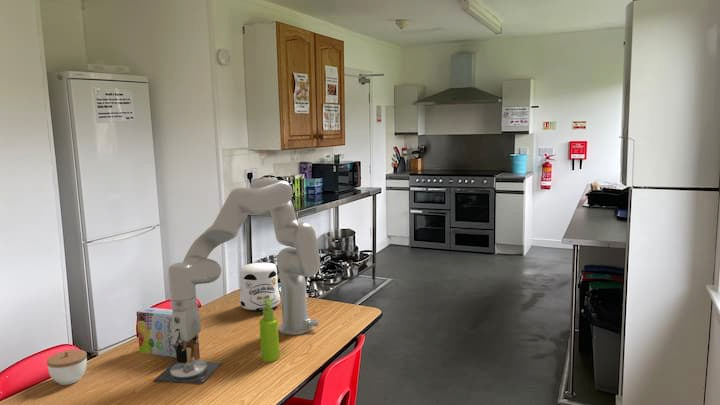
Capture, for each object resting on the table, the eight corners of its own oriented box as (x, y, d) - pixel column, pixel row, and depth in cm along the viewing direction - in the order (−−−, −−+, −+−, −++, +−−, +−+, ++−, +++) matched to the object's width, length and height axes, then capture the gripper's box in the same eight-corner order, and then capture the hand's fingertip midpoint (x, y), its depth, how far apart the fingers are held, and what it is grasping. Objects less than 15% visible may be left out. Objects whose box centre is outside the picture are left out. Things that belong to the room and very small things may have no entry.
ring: (203, 354, 167) (202, 339, 166) (193, 364, 160) (192, 349, 160) (183, 353, 168) (182, 339, 168) (172, 363, 161) (170, 348, 161)
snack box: (199, 353, 179) (196, 311, 177) (189, 360, 174) (186, 316, 172) (149, 346, 186) (146, 306, 184) (138, 353, 181) (134, 311, 179)
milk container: (261, 317, 212) (258, 274, 210) (231, 310, 222) (228, 269, 219) (289, 304, 227) (287, 264, 224) (260, 298, 236) (257, 260, 234)
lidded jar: (95, 371, 167) (92, 343, 166) (78, 388, 156) (74, 358, 155) (61, 373, 167) (58, 345, 165) (42, 389, 156) (38, 359, 155)
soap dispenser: (265, 364, 169) (262, 305, 166) (259, 356, 175) (256, 299, 172) (282, 360, 171) (280, 301, 169) (276, 352, 177) (273, 296, 175)
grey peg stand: (222, 363, 170) (220, 341, 169) (202, 383, 157) (201, 359, 156) (176, 361, 173) (174, 339, 172) (153, 381, 159) (151, 357, 158)
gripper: (181, 312, 153) (186, 370, 155) (207, 294, 170) (211, 346, 172) (157, 312, 154) (162, 369, 156) (186, 293, 171) (190, 345, 173)
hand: (188, 356), depth 164 cm, fingers closed on ring, 6 cm apart
